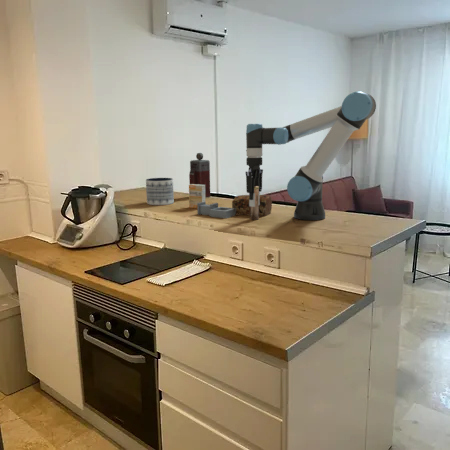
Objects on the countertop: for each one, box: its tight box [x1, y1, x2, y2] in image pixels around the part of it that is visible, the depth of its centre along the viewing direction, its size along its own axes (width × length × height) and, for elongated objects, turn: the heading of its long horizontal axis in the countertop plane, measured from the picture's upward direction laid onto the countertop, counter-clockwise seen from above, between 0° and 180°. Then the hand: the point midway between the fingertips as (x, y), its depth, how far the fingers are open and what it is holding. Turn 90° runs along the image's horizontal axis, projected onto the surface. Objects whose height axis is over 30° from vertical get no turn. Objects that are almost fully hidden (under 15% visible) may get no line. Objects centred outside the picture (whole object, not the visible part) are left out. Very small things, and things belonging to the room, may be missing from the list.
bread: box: [231, 194, 273, 217], centre depth 240 cm, size 19×11×10 cm, turn 65°
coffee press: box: [188, 152, 211, 198], centre depth 296 cm, size 9×11×28 cm
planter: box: [145, 177, 175, 206], centre depth 276 cm, size 16×16×14 cm
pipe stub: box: [249, 186, 260, 221], centre depth 225 cm, size 4×4×16 cm
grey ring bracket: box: [196, 201, 237, 219], centre depth 238 cm, size 10×19×6 cm, turn 58°
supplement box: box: [188, 183, 206, 209], centre depth 259 cm, size 8×5×13 cm, turn 68°
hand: (254, 205), depth 225 cm, fingers closed on pipe stub, 4 cm apart
